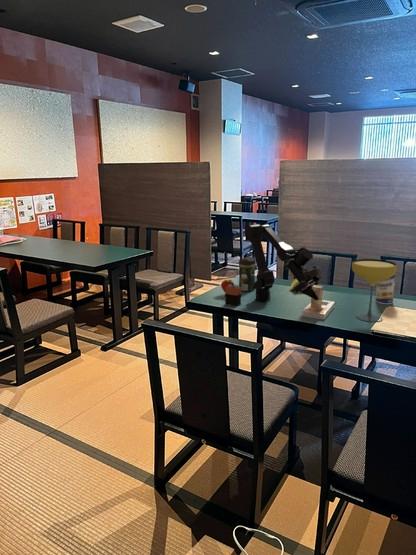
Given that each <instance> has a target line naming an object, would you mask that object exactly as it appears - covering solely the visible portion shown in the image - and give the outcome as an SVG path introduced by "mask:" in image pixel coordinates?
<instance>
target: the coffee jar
mask: <svg viewBox="0 0 416 555" xmlns="http://www.w3.org/2000/svg"><path fill="white" fill-rule="evenodd" d="M238 267H239V277H238V287H241V292H243V293H244V292H252V291H254V290H255V289H254V287H253V284H254V283H255V282H256V276H255V275H256V273H255V272H256V271H255V270H256V260H255V256H254V257H253V256H246V257H244V258H241V259H239V260H238Z"/></svg>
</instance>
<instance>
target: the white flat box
mask: <svg viewBox="0 0 416 555" xmlns="http://www.w3.org/2000/svg"><path fill="white" fill-rule="evenodd" d="M335 304H336V301H332V300H325V299H324V300H323V299H322V310H321V312H319V311H312V310H310V309H311V302H310V303H309V304H308V305H307V306H305V308H304V309H303V310H301V317H303V318H304V317H306V318H310V319H316V320H323V321H325V319H326V318H327V317H328V316H329V314H330V313H331V312H332V311H333V310H334V308H335V307H336V305H335Z"/></svg>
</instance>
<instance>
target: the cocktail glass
mask: <svg viewBox="0 0 416 555" xmlns="http://www.w3.org/2000/svg"><path fill="white" fill-rule="evenodd" d="M351 270H352V272H353V273H354V274H355V275H357V276H358V277H360V278H362V279H363V280H365V281H367V283H368V285H369V286H370V299H369V308H368V312H367V313H358V314H357V315H355V316H356V319H358V320H360V321H364V322H368V323H370V322H371V323H377V321H378V320H379V319H380V317H381V315H377V314H374V313H372V299H373V289H374V286H377V283H378V282H379V281H381V280H384V279H387V278H390V277H392V276H393V275H395V276H396V274H397V270H398V265H397V263H395V262H393V261H390V260H383V259H376V258H362V259H354V260H353V261H352V263H351Z"/></svg>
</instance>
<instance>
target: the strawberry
mask: <svg viewBox="0 0 416 555" xmlns="http://www.w3.org/2000/svg"><path fill="white" fill-rule="evenodd" d="M228 285H232V286H234V285H235V283H234V281H233V280H232V279H229V278H228V279H224V280H223V281H222V282H221V284H220V287H221V289H222V291H223V292H224V293H225V287H227V286H228Z"/></svg>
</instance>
